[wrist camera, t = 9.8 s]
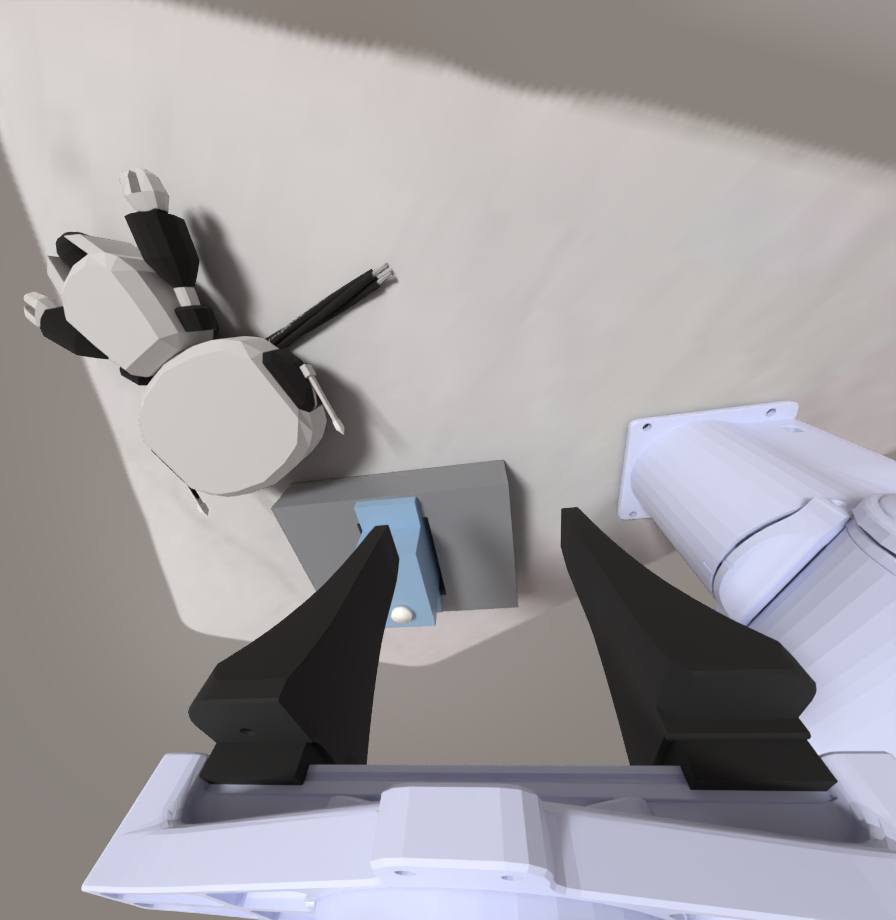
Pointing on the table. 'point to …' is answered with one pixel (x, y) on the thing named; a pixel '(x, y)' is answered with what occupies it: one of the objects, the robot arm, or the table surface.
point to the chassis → (439, 498)
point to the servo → (407, 559)
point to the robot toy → (181, 353)
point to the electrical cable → (330, 307)
